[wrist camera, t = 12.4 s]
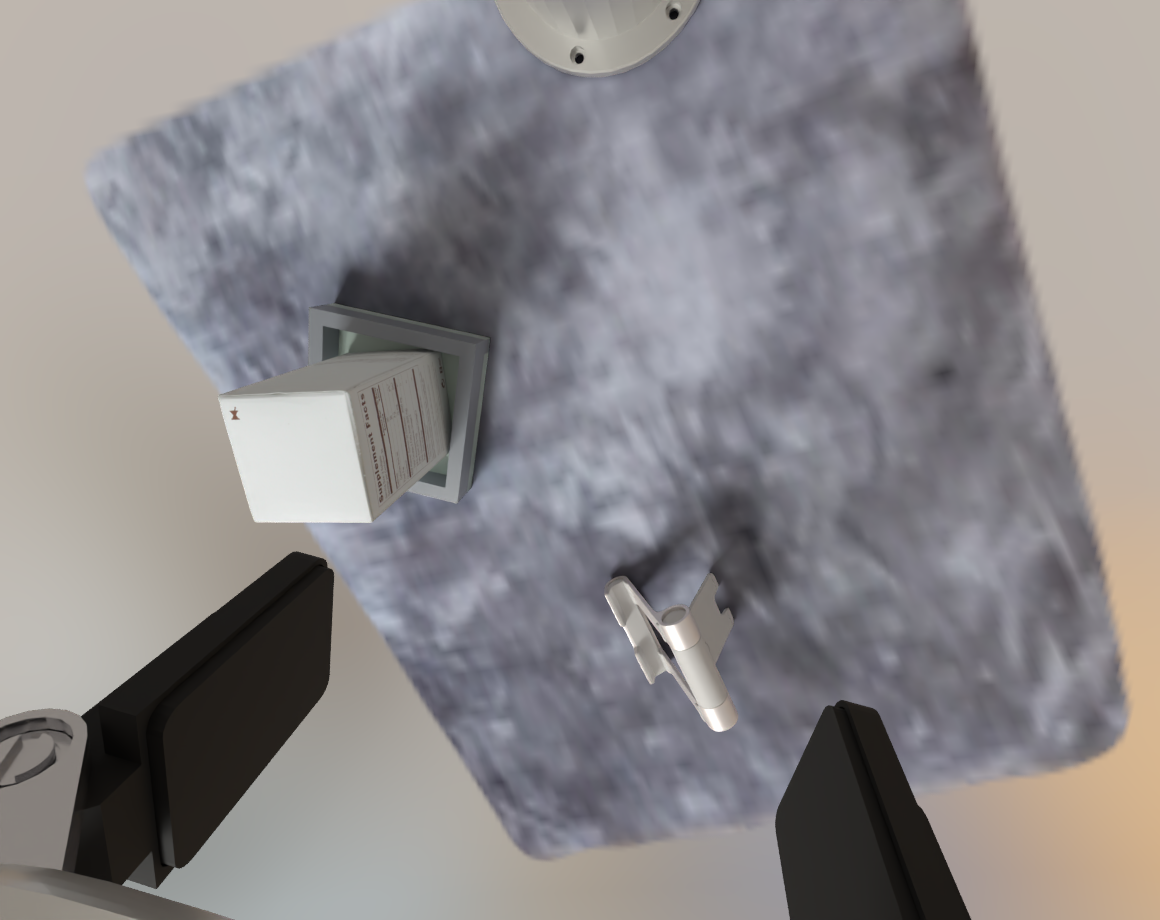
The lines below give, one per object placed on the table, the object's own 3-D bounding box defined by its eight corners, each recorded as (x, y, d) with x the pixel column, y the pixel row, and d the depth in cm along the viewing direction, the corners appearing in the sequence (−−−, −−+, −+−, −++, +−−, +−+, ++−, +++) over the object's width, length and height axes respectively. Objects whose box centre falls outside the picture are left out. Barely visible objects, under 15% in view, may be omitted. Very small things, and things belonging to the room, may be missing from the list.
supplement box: (365, 449, 43) (247, 525, 31) (345, 350, 41) (210, 391, 29) (459, 449, 42) (373, 527, 30) (444, 346, 39) (345, 388, 28)
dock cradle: (334, 303, 41) (308, 307, 38) (490, 337, 40) (476, 344, 37) (330, 452, 45) (307, 466, 42) (471, 487, 44) (457, 503, 41)
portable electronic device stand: (606, 579, 45) (590, 649, 37) (702, 548, 43) (707, 615, 35) (649, 666, 47) (643, 749, 39) (743, 641, 45) (756, 723, 37)
